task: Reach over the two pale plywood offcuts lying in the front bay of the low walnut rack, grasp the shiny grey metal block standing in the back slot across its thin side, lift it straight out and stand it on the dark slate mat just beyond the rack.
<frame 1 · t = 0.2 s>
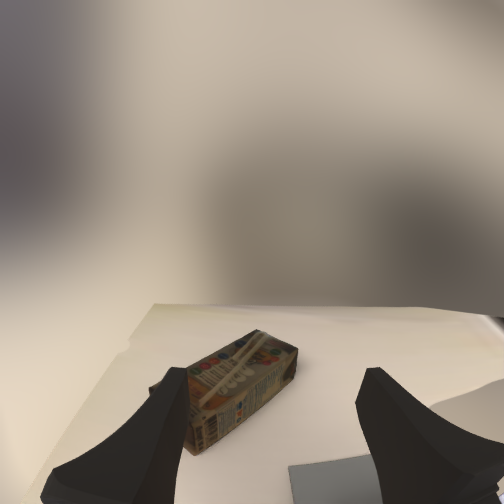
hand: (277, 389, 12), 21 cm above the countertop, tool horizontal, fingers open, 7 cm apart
mat: (376, 479, 25), on the countertop
beverage carton: (230, 404, 38), on the countertop
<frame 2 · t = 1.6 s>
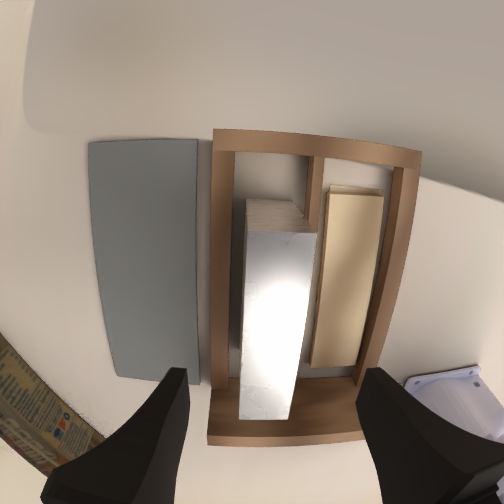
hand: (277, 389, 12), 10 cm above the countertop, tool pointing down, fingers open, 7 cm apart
offcut low: (341, 278, 22), on the countertop, touching offcut top
offcut top: (343, 287, 22), on the countertop, touching offcut low
mat: (145, 277, 21), on the countertop
shiny grey metal block: (263, 282, 21), on the countertop
rack: (310, 284, 21), on the countertop
beverage carton: (38, 395, 26), on the countertop
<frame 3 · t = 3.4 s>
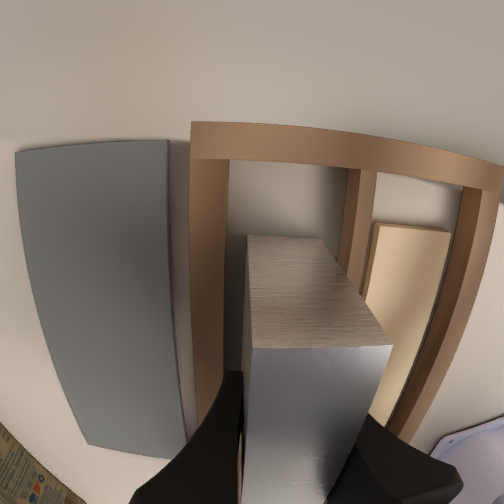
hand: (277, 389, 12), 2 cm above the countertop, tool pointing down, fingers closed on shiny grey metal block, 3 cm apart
offcut top: (379, 352, 15), on the countertop, touching offcut low
mat: (106, 342, 14), on the countertop
shiny grey metal block: (272, 352, 14), on the countertop, touching gripper
rack: (338, 352, 14), on the countertop
beverage carton: (7, 443, 19), on the countertop
when the fingers open (3 cm above the countertop, at t = 7.1 s): shiny grey metal block stays where it is, resting on mat.
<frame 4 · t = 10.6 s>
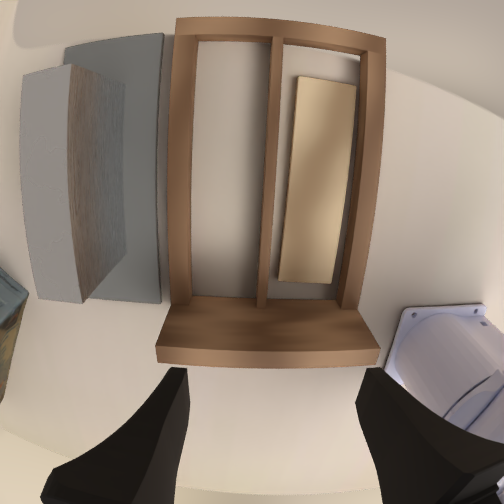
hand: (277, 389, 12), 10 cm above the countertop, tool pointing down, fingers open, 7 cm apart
offcut top: (316, 182, 20), on the countertop, touching offcut low
mat: (106, 172, 19), on the countertop
shiny grey metal block: (103, 171, 18), resting on mat
rack: (278, 175, 19), on the countertop
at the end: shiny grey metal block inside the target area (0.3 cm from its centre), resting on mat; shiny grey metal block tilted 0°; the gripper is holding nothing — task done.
